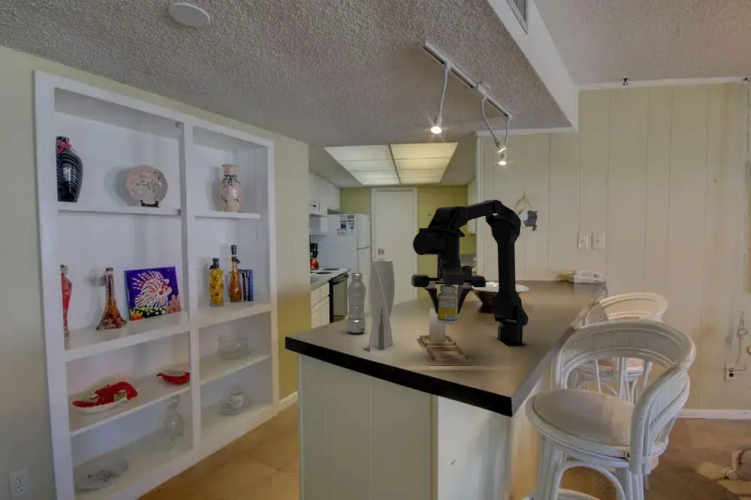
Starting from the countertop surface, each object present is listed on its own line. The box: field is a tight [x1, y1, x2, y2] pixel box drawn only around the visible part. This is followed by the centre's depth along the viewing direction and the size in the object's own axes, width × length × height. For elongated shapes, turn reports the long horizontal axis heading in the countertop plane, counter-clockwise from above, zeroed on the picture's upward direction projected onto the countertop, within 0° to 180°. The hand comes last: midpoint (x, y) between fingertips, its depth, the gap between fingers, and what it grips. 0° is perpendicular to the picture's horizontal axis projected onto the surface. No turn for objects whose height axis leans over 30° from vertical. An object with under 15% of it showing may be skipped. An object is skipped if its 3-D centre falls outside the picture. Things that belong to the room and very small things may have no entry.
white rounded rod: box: [428, 307, 447, 342], centre depth 117 cm, size 5×5×10 cm
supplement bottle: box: [437, 284, 459, 325], centre depth 105 cm, size 5×5×10 cm
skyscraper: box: [362, 251, 396, 352], centre depth 114 cm, size 8×8×28 cm
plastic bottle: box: [346, 272, 367, 334], centre depth 133 cm, size 6×7×20 cm
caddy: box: [416, 334, 473, 367], centre depth 111 cm, size 11×22×2 cm, turn 3°
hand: (447, 313), depth 105 cm, fingers closed on supplement bottle, 5 cm apart
